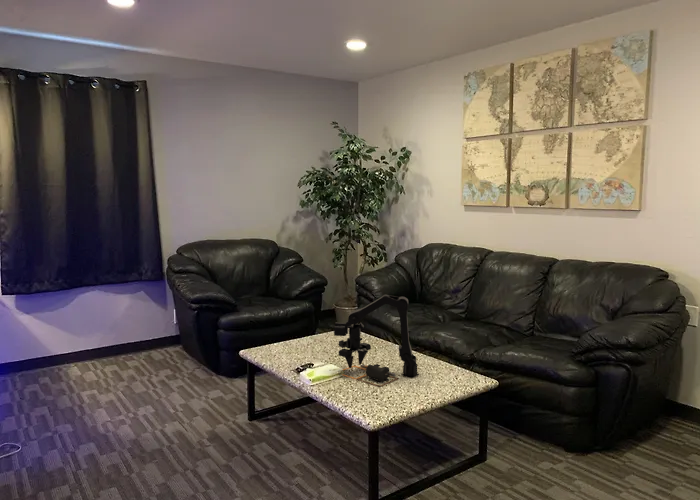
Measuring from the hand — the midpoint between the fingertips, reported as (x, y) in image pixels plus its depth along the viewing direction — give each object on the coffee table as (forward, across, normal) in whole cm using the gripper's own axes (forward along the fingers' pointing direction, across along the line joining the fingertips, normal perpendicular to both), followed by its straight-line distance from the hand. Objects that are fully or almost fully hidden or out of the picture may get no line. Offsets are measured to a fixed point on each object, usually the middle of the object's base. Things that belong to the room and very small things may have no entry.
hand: (355, 366), depth 266 cm
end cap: (+4, 0, +15) cm, 15 cm away
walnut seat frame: (+4, 0, +15) cm, 15 cm away
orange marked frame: (+4, 0, 0) cm, 4 cm away
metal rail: (+4, -9, +8) cm, 12 cm away
